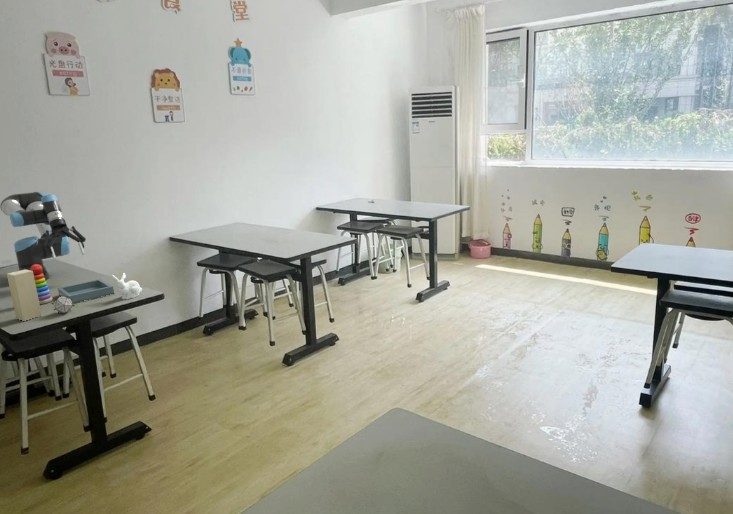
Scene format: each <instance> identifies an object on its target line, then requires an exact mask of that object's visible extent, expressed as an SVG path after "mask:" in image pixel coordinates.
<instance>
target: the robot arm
mask: <svg viewBox="0 0 733 514" xmlns="http://www.w3.org/2000/svg"><path fill="white" fill-rule="evenodd" d="M0 211H1V212H2V213H3V214H4V215H5V216H8V217H9V220H10V223H11V226H12V227H14V228H20V227H25V226H32V225H36V228H37V230H38V232H39V234H40V238H39V237H38V236H35V235H33V236H29V237H25V238H21V239H19V240H17V241H15V242H14V244H13V247H14V253H15V257H16V260H17V266H18V271H21V270H30V268H31V266H32V265H35V264H38V265H40V266H41V267H42V269H43V270H42V272H41V273H42V274H44V277H43V278H45V281H46V280H48V279H50V273H49V272H48V269H47V268H46V267H45V265H44V261H43V260H46V259H51V258H53V261H56V260H57V257H63V256H68V255H69V254H70V253H71V245H70V239H71V240H73V241H75V242H76V243H78V246H79V250H80V252H81V255H82V256H84V255H85V250H84V249H85V244H84V243H85V242H86V237H85V236H84V235H82V234H81V233H80V232H79V231H78V230H77V229H76V227H75V226H74V225H72V226H70V227H68V226H67V225H68V224H67V222H66V220H65V217H64V214H63V211H62V208H61V206H60V204H59V199H58V198H57V196H56V195H55V194H52V193H51V194H46V193H44V192H42V191H34V192H25V193H17V194H16V193H15V194H11V195H9V196H8V195H7V196H6V197H5V198H3V199H2V201H1V202H0ZM69 238H70V239H69ZM33 275H34V274H33Z"/></svg>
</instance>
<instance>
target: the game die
mask: <svg viewBox="0 0 733 514" xmlns="http://www.w3.org/2000/svg"><path fill="white" fill-rule="evenodd" d="M60 296H61V297H60ZM60 296H59V297H58V298H55V300H54V302H52V303H51V305H53V308H54V309H53V311H57V314H60V313H62V314H64V315H65V314H66V315H67V312H69V311H72V310H71V309H72V308H73V307H75V306H76V305H75V304H72V301H71V300H72V299H71V300H70V299H69V298H68V297H69V296H67V297H63V296H62V295H60Z"/></svg>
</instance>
